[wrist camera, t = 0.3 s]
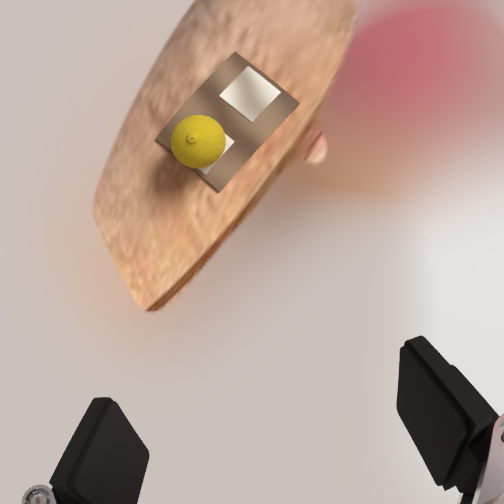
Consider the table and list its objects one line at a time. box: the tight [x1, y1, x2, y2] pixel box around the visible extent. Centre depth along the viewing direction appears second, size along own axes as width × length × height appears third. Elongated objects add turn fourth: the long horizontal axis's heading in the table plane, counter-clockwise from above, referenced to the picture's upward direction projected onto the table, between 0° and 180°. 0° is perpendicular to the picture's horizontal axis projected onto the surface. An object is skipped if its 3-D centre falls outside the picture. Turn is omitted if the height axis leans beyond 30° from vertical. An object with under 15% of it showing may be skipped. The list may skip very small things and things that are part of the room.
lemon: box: [170, 115, 226, 168], centre depth 29 cm, size 6×6×8 cm
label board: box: [156, 52, 300, 192], centre depth 33 cm, size 14×10×1 cm
